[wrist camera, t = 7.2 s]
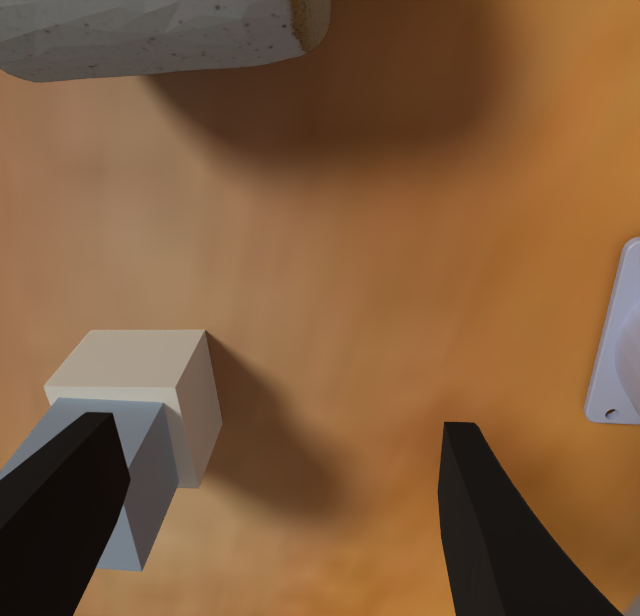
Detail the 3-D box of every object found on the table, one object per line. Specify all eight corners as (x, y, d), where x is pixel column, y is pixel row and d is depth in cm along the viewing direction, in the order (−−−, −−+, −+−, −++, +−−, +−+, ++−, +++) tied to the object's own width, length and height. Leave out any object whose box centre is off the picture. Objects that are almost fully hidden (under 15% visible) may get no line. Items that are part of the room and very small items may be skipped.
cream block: (205, 328, 24) (174, 387, 21) (223, 421, 26) (198, 488, 23) (91, 328, 25) (43, 386, 21) (119, 419, 27) (80, 484, 24)
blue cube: (163, 402, 21) (118, 486, 17) (179, 481, 23) (142, 571, 19) (58, 397, 21) (-6, 478, 18) (82, 476, 23) (29, 563, 20)
